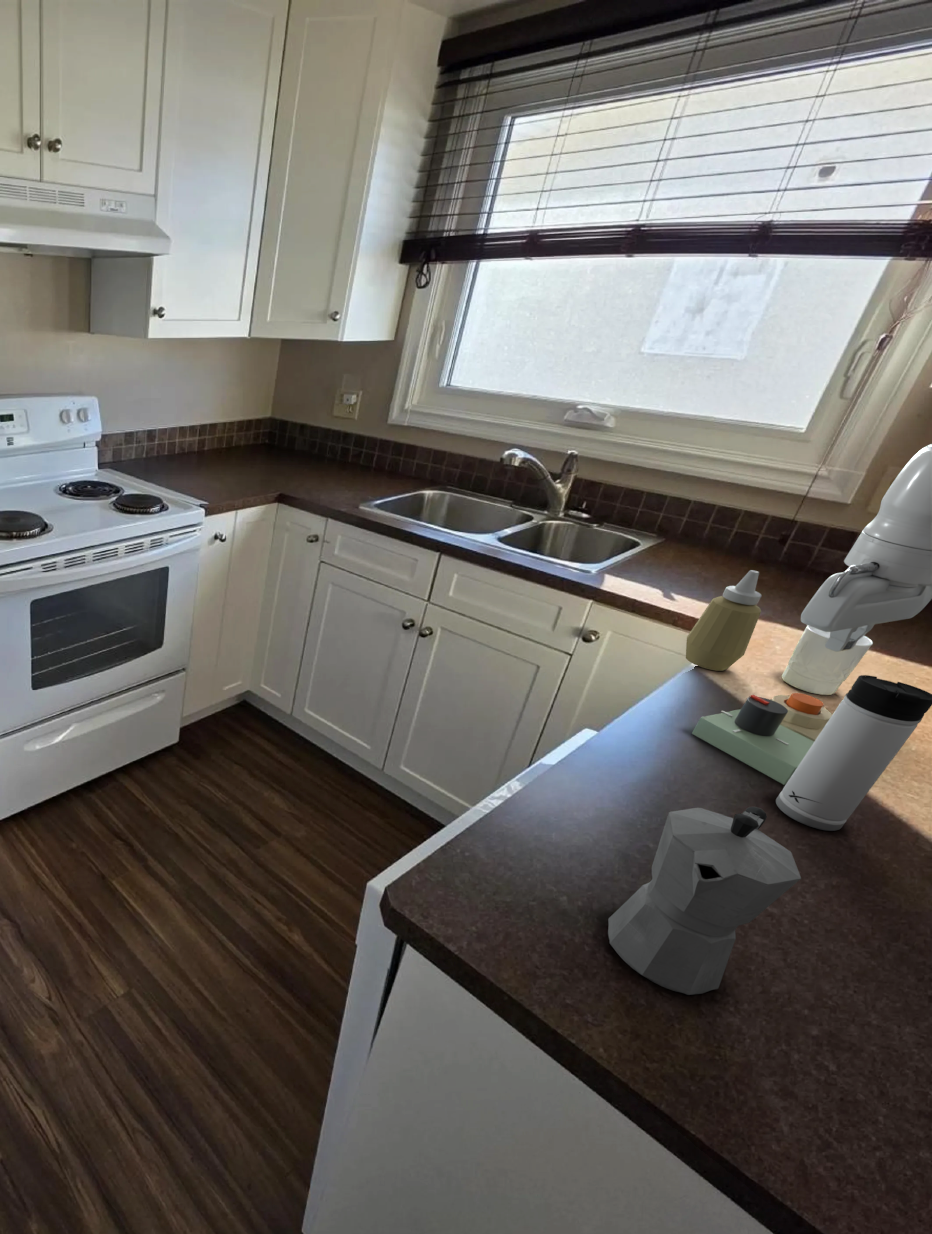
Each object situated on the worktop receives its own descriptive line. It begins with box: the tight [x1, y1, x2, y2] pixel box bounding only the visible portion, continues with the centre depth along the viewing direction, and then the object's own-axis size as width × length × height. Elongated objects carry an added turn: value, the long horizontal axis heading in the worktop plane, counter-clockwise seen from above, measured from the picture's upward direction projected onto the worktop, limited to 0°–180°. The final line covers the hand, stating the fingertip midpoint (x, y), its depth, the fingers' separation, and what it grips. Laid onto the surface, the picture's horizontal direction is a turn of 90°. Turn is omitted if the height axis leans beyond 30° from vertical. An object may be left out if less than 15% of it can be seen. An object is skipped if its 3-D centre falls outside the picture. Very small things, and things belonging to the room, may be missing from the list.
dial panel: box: [691, 708, 814, 786], centre depth 97 cm, size 12×10×3 cm
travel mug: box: [775, 674, 932, 832], centre depth 82 cm, size 6×7×20 cm
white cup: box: [781, 625, 874, 696], centre depth 114 cm, size 8×8×10 cm
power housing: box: [769, 694, 833, 742], centre depth 102 cm, size 11×9×4 cm
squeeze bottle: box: [685, 569, 762, 672], centre depth 117 cm, size 8×8×18 cm
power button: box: [786, 692, 825, 715], centre depth 102 cm, size 4×4×2 cm
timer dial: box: [734, 694, 788, 736], centre depth 97 cm, size 4×4×4 cm
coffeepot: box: [607, 806, 802, 996], centre depth 64 cm, size 15×9×18 cm, turn 125°
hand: (837, 648), depth 98 cm, fingers closed
